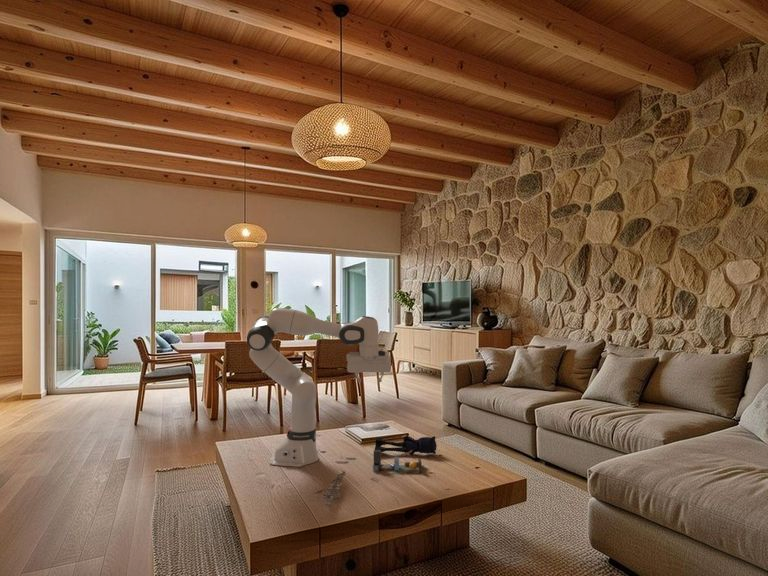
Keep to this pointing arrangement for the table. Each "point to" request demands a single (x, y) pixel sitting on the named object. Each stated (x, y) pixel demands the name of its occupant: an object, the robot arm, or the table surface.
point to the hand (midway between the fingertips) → (369, 382)
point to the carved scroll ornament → (334, 488)
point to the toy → (409, 445)
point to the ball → (413, 465)
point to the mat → (402, 468)
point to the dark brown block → (376, 468)
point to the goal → (414, 469)
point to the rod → (385, 466)
